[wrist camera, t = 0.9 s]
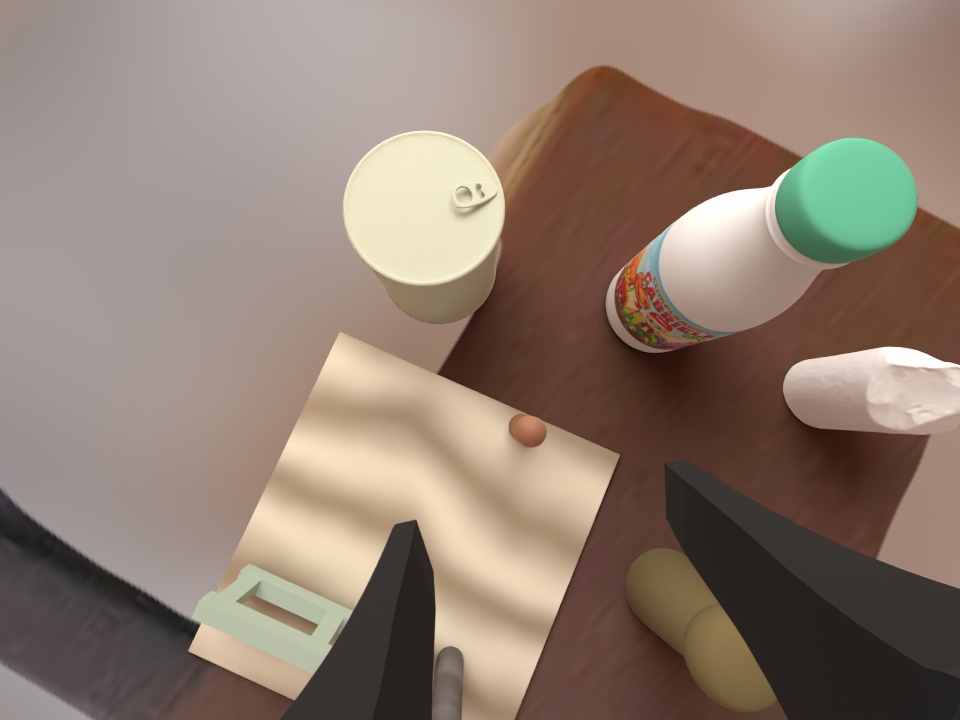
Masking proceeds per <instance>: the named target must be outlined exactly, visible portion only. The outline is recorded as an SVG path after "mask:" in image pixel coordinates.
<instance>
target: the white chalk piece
mask: <svg viewBox="0 0 960 720" xmlns="http://www.w3.org/2000/svg"><path fill="white" fill-rule="evenodd" d="M783 394H784V398H785V401H786V403H787V405H788V407H789V408H790V410H791V411H792V412H793V414H794V415H795V416H796V417H797V418H798V419H799V420H800V421H802V422H803V423H805V424H807V425H810V426H812V427H816V428H822V429H836V430H853V431H868V432H884V433H895V434H921V435H925V434H938V433H945V432H949V431H951V430H953V429H954V428H955V427H956V426H957V425H958V424H959V423H960V365H957V364H953V363H949V362H943V361H940V360H938V359H935V358H933V357H931V356H929V355H927V354H925V353H922V352H920V351H916V350H912V349H907V348H899V347H882V348H876V349H871V350H865V351H860V352H854V353H848V354H842V355H837V356H830V357H823V358H817V359H808V360H804V361H801V362H799V363H797V364H796V365H794V366H792V367H791V369H790V370H789V371H788V373H787V375H786V376H785V379H784V383H783Z"/></svg>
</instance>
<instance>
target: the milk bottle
mask: <svg viewBox="0 0 960 720" xmlns="http://www.w3.org/2000/svg"><path fill="white" fill-rule="evenodd" d="M917 202H918V198H917V189H916V185H915V182H914V179H913V176H912V174H911V172H910V170H909V169H908V168H907V166H906V165H905V163H904V162H903V161H902V159H900V157H899V156H897V155H896V154H895V153H894V152H893V151H891V150H890V149H889V148H887V147H885V146H883V145H882V144H879V143H877V142H874V141H871V140H868V139H862V138H845V139H840V140H836V141H833V142H831V143H828V144H826V145H823V146H822V147H820V148H818V149H816V150H815V151H813V152H812V153H810V154H809V155H807V156H806V157H805V158H803V159H802V160H801V161H799V162H798V163H797V164H796V165H795V166H793V167H792V168H791V169H789V170H787V171H786V172H785V173H783V174H782V175H781V176H780V177H779V178H778V179H777V180H776V181H775V183H774V184H773V186H771V187H767V188H760V189H748V190H739V191H734V192H730V193H726V194H723V195H720V196H717V197H715V198H712V199H710V200H708V201H705V202H704V203H702V204H700V205H698V206H697V207H695V208H693V209H692V210H690V211H689V212H687V213H686V214H685V215H683V216H682V217H681V218H680V219H678V220H677V221H676V222H674V223H673V224H672V225H671V226H670V227H668V228H667V229H666V230H665V231H664V232H663V233H662V234H660V235H659V236H658V237H657V238H656V239H655V240H654V241H652V242H651V243H650V244H649V245H648V246H647V247H646V248H644V249H643V250H642V251H641V252H640V253H639V254H638V255H637V256H636V257H634V258H633V259H632V260H631V261H630V262H629V263H628V264H627V265H626V266H625V267H623V268H622V270H621V271H620V272H619V273H618V274H617V275H616V276H615V277H614V279H613V280H612V282H611V284H610V286H609V289H608V292H607V296H606V312H607V316H608V319H609V322H610V324H611V326H612V328H613V330H614V331H615V333H616V334H617V335H618V336H619V337H620V338H621V339H622V340H623V341H624V342H625V343H626V344H628V345H630V346H631V347H633V348H635V349H638V350H640V351H644V352H650V353H661V352H667V351H672V350H676V349H680V348H683V347H687V346H691V345H695V344H699V343H702V342H706V341H710V340H713V339H717V338H720V337H724V336H727V335H731V334H734V333H737V332H740V331H743V330H746V329H749V328H752V327H755V326H758V325H760V324H762V323H764V322H766V321H768V320H770V319H772V318H774V317H776V316H778V315H779V314H780V313H782V312H783V311H785V310H786V309H788V308H789V307H790V306H791V305H792V304H793V303H795V302H796V301H797V300H798V299H799V298H800V297H801V296H802V295H803V294H804V292H805V291H806V290H807V289H808V287H809V286H810V285H811V283H812V282H813V280H814V279H815V277H816V276H817V275H818V274H819V273H820V272H821V271H822V270H823V269H832V268H837V267H841V266H844V265H846V264H848V263H850V262H853V261H856V260H859V259H863V258H866V257H869V256H871V255H873V254H876V253H878V252H880V251H882V250H885V249H886V248H888V247H890V246H891V245H893V244H894V243H895V242H897V241H898V240H899V239H900V238H901V237H902V236H903V235H904V234H905V233H906V232H907V231H908V229H909V228H910V226H911V224H912V223H913V220H914V218H915V214H916V210H917Z"/></svg>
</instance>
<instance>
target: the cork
mask: <svg viewBox="0 0 960 720" xmlns="http://www.w3.org/2000/svg"><path fill="white" fill-rule="evenodd" d="M625 594H626V599H627V603H628V605H629V606H630V608H631V610H632V612H633V614H634V615H635V616H636V617H637V618H638V619H639V620H641V621H642V622H643V623H644V624H645V625H646V626H647V627H649V628H650V629H651V630H652V631H653V632H654V633H656V634H657V635H658V636H659V637H660V638H662V639H663V640H664V641H665V642H666V643H668V644H669V645H670V646H671V647H672V648H674V649H675V650H676V651H677V652H678V653H679V654H681V655H682V656H683V657H684V658H685V661H686V664H687V667H688V670H689V671H690V673H691V675H692V677H693V679H694V680H695V682H696V684H697V685H698V686H699V688H700V689H701V690H702V691H703V692H704V693H705V694H706V695H707V696H708V697H709V698H710V699H711V700H713V701H714V702H716V703H717V704H718V705H721V706H723V707H725V708H727V709H729V710H731V711H735V712H743V713H755V712H760V711H764V710H765V709H767V708H769V707H770V706H772V705H773V704H775V702H776V701H777V700H778V699H777V698H776V696H775V694H774V692H773V690H772V688H771V687H770V685H769V683H768V681H767V679H766V678H765V676H764V674H763V672H762V671H761V669H760V667H759V665H758V664H757V662H756V660H755V658H754V657H753V655H752V653H751V651H750V650H749V648H748V646H747V644H746V643H745V641H744V640H743V638H742V636H741V635H740V633H739V632H738V630H737V629H736V627H735V626H734V624H733V623H732V621H731V620H730V618H729V617H728V615H727V614H726V613H725V611H724V610H723V608H722V607H721V605H720V604H719V602H718V601H717V599H716V598H715V597H714V595H713V594H712V592H711V591H710V589H709V588H708V586H707V585H706V584H705V582H704V581H703V579H702V578H701V576H700V575H699V573H698V572H697V570H696V569H695V567H694V566H693V565H692V563H691V562H690V560H689V559H688V557H687V556H686V555H684V554H682V553H680V552H678V551H676V550H674V549H668V548H656V549H651V550H648V551H647V552H645V553H643V554H642V555H640V556H638V558H637V559H636V560H635V561H634V562H633V563H632V564H631V566H630V568H629V571H628V573H627V575H626V581H625Z"/></svg>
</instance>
